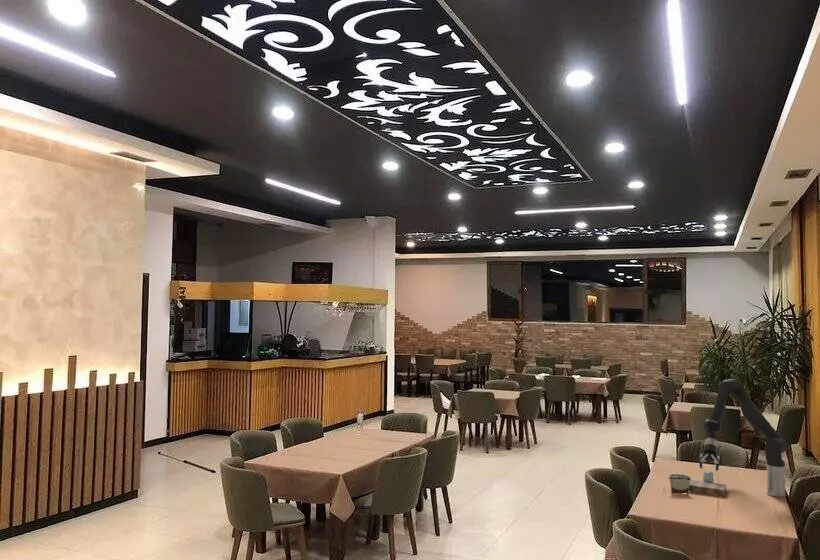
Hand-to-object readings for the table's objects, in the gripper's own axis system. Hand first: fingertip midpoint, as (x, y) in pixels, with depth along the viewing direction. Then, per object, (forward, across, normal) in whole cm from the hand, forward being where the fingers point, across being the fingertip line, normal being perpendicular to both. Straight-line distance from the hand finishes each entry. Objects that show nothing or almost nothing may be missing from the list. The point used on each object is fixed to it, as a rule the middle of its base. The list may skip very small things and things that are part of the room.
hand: (708, 469), depth 395 cm
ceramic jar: (+10, 0, +4) cm, 11 cm away
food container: (+28, -14, -13) cm, 34 cm away
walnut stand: (+19, 0, -5) cm, 20 cm away
